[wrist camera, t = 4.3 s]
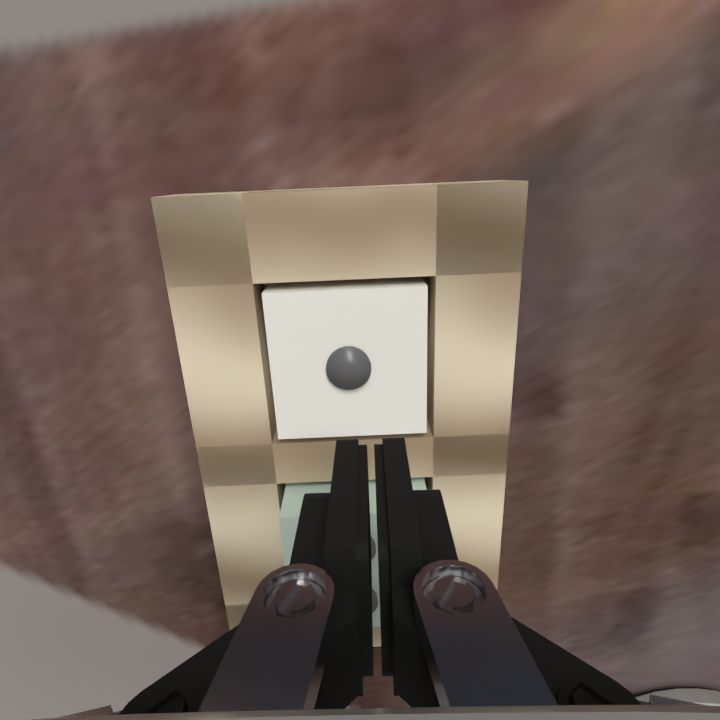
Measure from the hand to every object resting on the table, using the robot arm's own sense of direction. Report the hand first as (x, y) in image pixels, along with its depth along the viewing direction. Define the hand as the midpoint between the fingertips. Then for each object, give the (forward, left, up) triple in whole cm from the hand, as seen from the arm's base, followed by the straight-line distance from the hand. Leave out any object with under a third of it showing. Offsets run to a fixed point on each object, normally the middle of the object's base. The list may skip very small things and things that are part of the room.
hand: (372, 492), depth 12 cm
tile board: (-3, +1, -9) cm, 10 cm away
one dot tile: (+1, +1, -8) cm, 8 cm away
